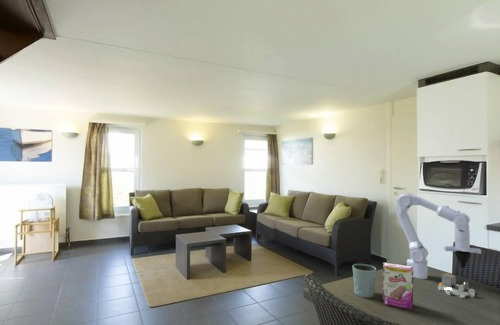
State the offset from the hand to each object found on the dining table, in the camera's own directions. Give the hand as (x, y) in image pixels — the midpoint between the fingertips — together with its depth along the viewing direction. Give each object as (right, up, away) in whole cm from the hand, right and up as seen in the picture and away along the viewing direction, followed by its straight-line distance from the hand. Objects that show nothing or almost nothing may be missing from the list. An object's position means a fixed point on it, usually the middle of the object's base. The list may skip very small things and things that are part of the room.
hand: (462, 267), depth 136 cm
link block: (-9, -7, -3) cm, 12 cm away
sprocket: (-7, -9, -6) cm, 13 cm away
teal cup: (-50, -10, -7) cm, 51 cm away
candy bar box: (-40, -10, -18) cm, 45 cm away
